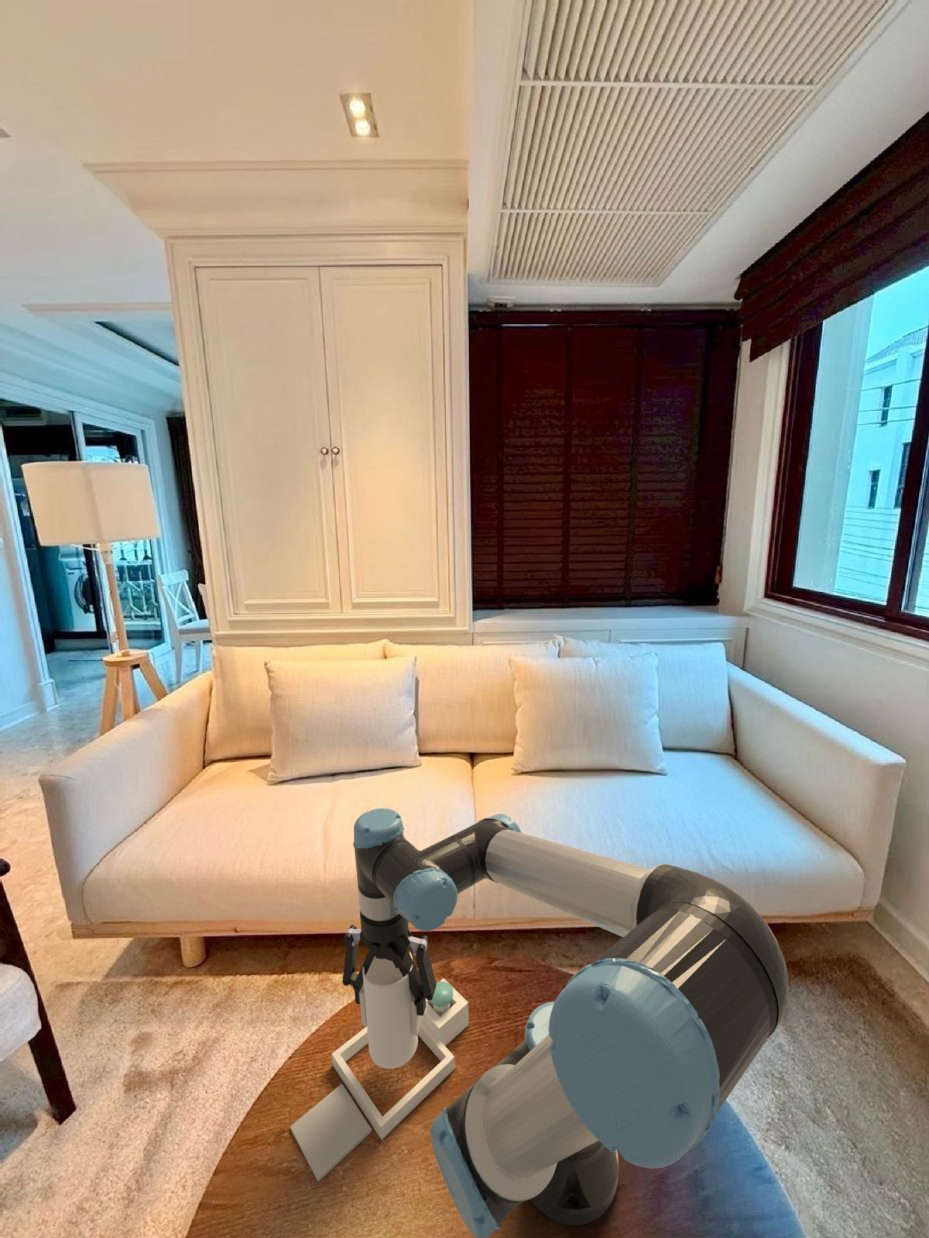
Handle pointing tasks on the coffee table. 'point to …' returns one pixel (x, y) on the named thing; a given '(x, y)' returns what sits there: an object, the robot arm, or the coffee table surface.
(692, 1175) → the coffee table surface
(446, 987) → the mint mushroom button
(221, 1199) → the coffee table surface
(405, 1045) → the cup
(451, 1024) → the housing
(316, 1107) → the pad
